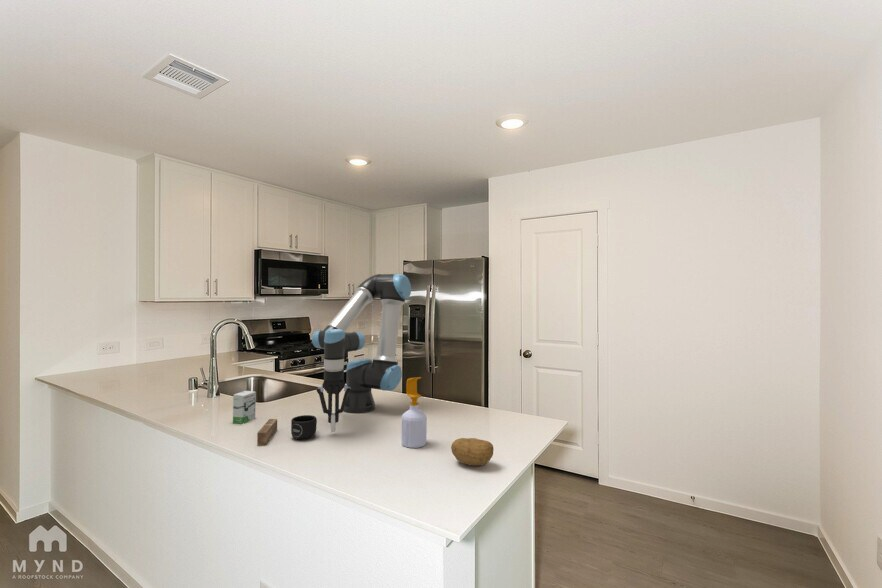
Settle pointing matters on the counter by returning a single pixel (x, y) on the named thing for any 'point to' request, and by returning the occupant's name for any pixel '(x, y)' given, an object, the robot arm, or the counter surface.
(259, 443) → the long brown box
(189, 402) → the counter surface
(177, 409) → the counter surface
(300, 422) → the mug
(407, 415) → the soap bottle
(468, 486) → the counter surface
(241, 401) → the ink box
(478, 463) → the potato
